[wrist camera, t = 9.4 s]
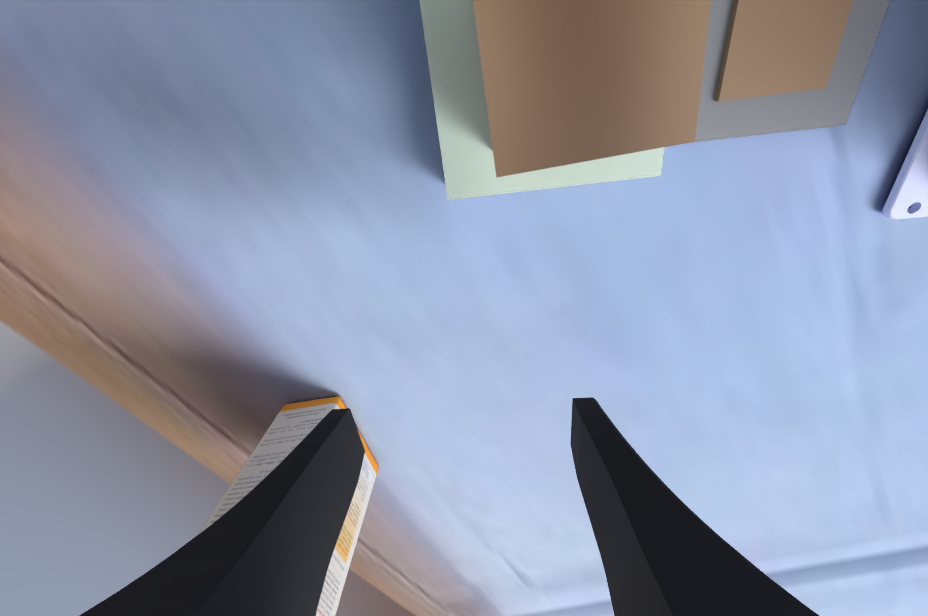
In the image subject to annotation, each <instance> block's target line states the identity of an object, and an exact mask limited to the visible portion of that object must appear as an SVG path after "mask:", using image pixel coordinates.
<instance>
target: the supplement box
mask: <svg viewBox="0 0 928 616" xmlns="http://www.w3.org/2000/svg"><path fill="white" fill-rule="evenodd" d="M332 409H346V407H345V405H344V403H343V402H342V400H341V398H340V397H331V398H322V399H316V400H309V401H304V402H297V403H290V404H285V405H284V406H283V407H282V409H281V410H280V412H279V413H278V415H277V416H276V418H275V419H274V421H273V422H272V424H271V425H270V427H269V428H268V430H267V431H266V433H265V434H264V436H263V437H262V439H261V440H260V442H259V443H258V445H257V446H256V448H255V449H254V451H253V452H252V454H251V455H250V457H249V458H248V460H247V461H246V463H245V464H244V466H243V467H242V469H241V471H240V472H239V473H238V475H237V476H236V478H235V480H234V481H233V483H232V484H231V486H230V487H229V489H228V490H227V492H226V493H225V495H224V496H223V498H222V499H221V501H220V502H219V504H218V505H217V507H216V508H215V510H214V511H213V513H212V514H211V516H210V518H209V519H208V520H207V522H206V523H205V525H204V527H203V528H202V529H201V531H200V532H199V534H200V533H201V532H203V531H204V530H205V529H206V528H208V527H209V526H210V525H212V524H213V523H214V522H215V521H217V520H218V519H219V518H220V517H221V516H223V515H224V514H225V513H226V512H227V511H229V510H230V509H231V508H232V507H233V506H235V505H236V504H237V503H238V502H239V501H240V500H241V499H243V498H244V497H245V496H246V495H247V494H248V493H249V492H250V491H251V490H253V489H254V488H255V487H256V486H257V485H258V484H259V483H260V482H261V481H262V480H263V479H264V478H265V477H266V476H267V475H268V474H269V473H270V472H271V471H272V470H273V469H275V468H276V467H277V466H278V465H279V464H280V463H281V462H282V461H283V460H284V459H285V458H286V457H287V456H288V455H289V454H290V453H291V452H292V451H293V449H294V448H295V447H296V446H297V445H298V444H299V443H300V442H301V441H302V440H303V439H304V438H305V437H306V436H307V435H308V434H309V433H310V432H311V431H312V430H313V429H314V428H315V427H316V425H317V424H318V423H319V422H320V421H321V420H322V419H323V418H324V417H325V416H326V415H327V414H328V413H329V412H330V411H331V410H332ZM357 430H358V429H357ZM358 432H359V430H358ZM359 435H360V438H361V441H362V443H363V446H364V449H365V454H364V458H363V463H362V468H361V472H360V476H359V480H358V484H357V487H356V490H355V492H354V495H353V498H352V501H351V504H350V507H349V510H348V512H347V515H346V518H345V521H344V523H343V526H342V529H341V532H340V535H339V537H338V540H337V543H336V546H335V549H334V551H333V554H332V557H331V560H330V564H329V567H328V570H327V574H326V577H325V581H324V585H323V589H322V593H321V596H320V600H319V604H318V608H317V612H316V616H335V614H336V611H337V608H338V604H339V600H340V597H341V593H342V590H343V587H344V583H345V580H346V576H347V573H348V570H349V566H350V563H351V559H352V556H353V553H354V549H355V546H356V542H357V539H358V536H359V532H360V529H361V526H362V522H363V518H364V515H365V512H366V508H367V505H368V502H369V498H370V495H371V491H372V488H373V484H374V481H375V478H376V474H377V471H378V465H377V463H376V461H375V460H374V458H373V456H372V454H371V452H370V451H369V449H368V447H367V445H366V443H365V442H364V440H363V438H362V436H361V434H360V432H359ZM199 534H198V535H199Z"/></svg>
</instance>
